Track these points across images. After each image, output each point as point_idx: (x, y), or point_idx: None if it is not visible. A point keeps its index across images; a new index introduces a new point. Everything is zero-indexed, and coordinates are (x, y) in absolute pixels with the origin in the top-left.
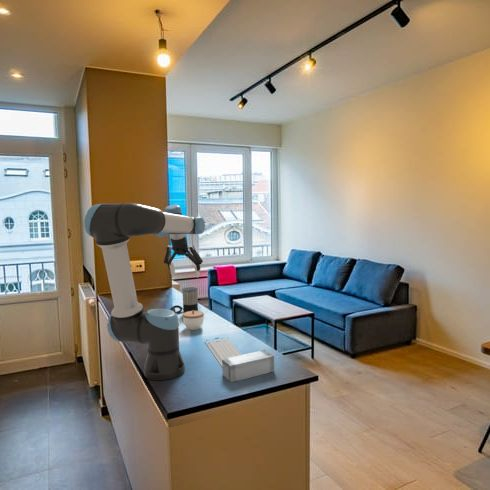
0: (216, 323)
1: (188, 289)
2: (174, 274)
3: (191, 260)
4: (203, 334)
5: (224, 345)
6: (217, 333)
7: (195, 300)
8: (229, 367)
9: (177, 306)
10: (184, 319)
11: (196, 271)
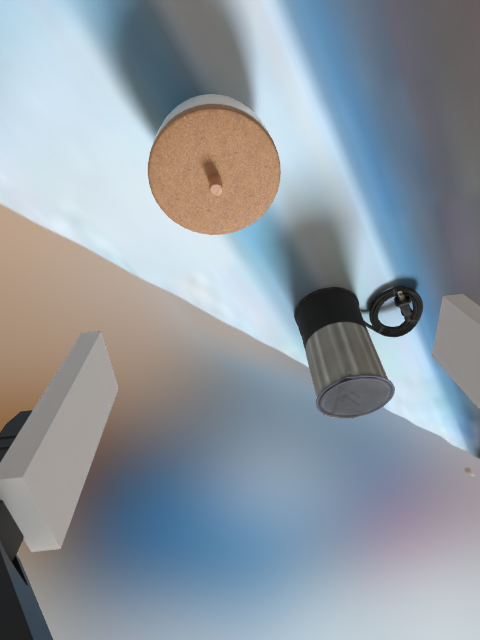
0: (148, 240)
1: (358, 392)
2: (438, 339)
3: (17, 623)
4: (89, 49)
5: None
6: (29, 99)
7: (310, 352)
8: None
9: (396, 330)
10: (245, 109)
11: (51, 391)
